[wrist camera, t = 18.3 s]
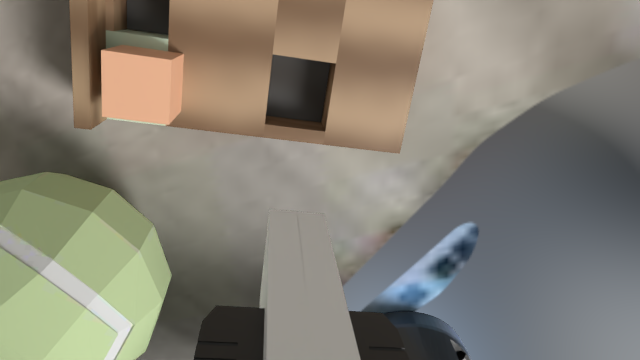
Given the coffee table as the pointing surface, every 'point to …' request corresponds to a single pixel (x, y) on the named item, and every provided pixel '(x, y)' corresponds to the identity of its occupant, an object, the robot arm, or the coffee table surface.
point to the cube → (141, 84)
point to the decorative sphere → (76, 271)
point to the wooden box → (267, 64)
